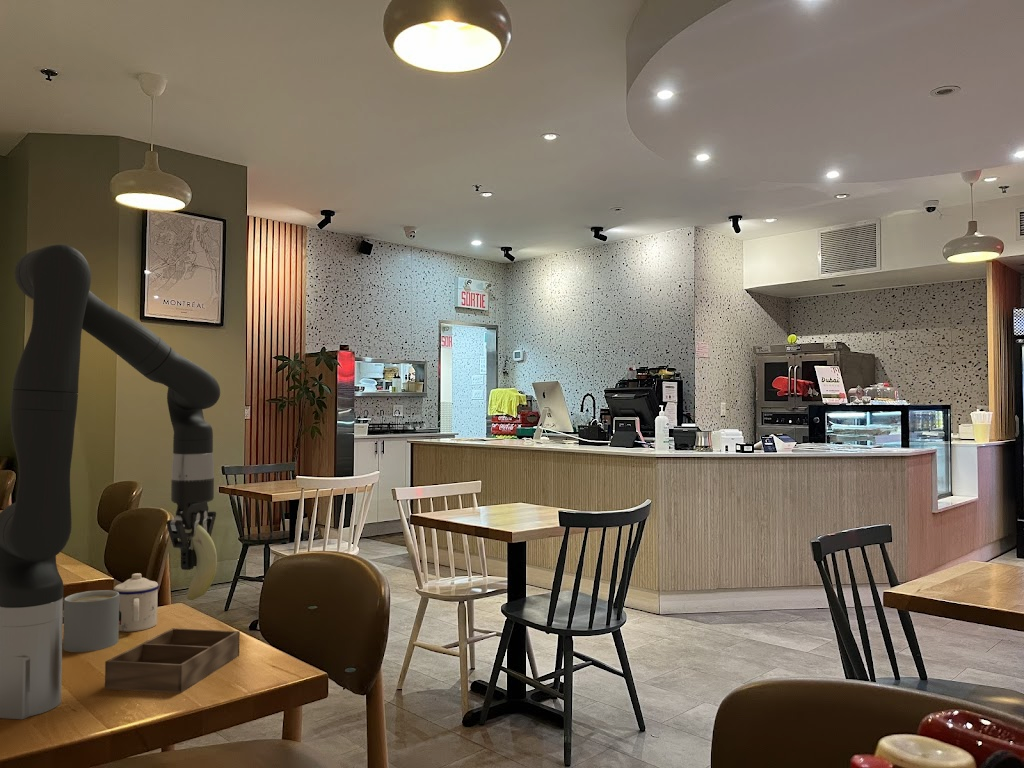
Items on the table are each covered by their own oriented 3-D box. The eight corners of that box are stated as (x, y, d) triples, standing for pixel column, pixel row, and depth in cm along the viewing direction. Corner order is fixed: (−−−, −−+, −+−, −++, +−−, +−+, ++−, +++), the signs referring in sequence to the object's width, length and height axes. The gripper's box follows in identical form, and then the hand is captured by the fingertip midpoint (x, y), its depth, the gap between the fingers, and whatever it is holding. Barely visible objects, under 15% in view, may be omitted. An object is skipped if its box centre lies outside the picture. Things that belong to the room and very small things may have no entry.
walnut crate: (181, 695, 128) (181, 665, 128) (104, 690, 130) (105, 661, 130) (239, 657, 148) (239, 631, 148) (171, 653, 150) (172, 628, 150)
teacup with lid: (113, 623, 170) (114, 571, 171) (157, 618, 174) (158, 568, 175) (111, 638, 160) (112, 583, 160) (158, 632, 164) (159, 578, 164)
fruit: (224, 592, 143) (228, 587, 146) (204, 515, 143) (208, 512, 146) (185, 603, 142) (190, 598, 145) (165, 525, 142) (170, 522, 145)
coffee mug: (121, 646, 154) (122, 597, 154) (65, 655, 148) (66, 604, 149) (112, 630, 165) (113, 584, 165) (59, 638, 159) (60, 591, 160)
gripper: (190, 480, 137) (189, 576, 137) (229, 473, 151) (228, 560, 150) (152, 480, 138) (151, 575, 138) (194, 473, 152) (193, 559, 152)
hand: (191, 567), depth 144 cm, fingers closed on fruit, 2 cm apart
